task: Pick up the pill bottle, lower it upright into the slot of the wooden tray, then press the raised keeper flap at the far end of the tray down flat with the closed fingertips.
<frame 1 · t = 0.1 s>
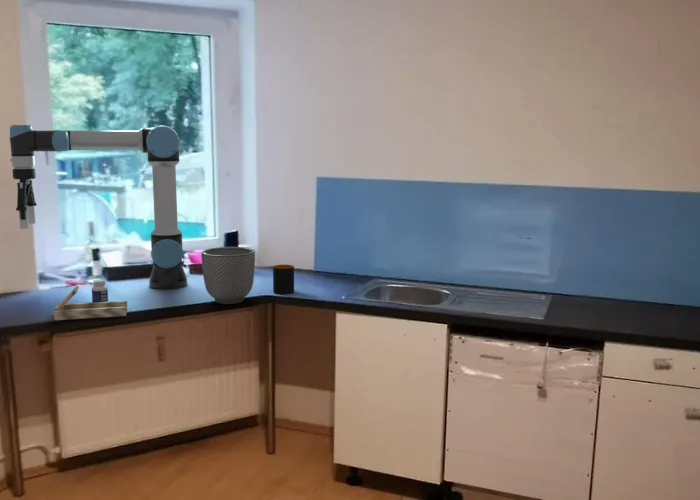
hand: (28, 226, 254), 28 cm above the countertop, fingers open, 13 cm apart
keeper flap: (69, 296, 236), point 7 cm above the countertop, hinge at 45.0°
wooden tray: (92, 314, 239), on the countertop
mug: (282, 291, 275), on the countertop
pill bottle: (100, 307, 249), on the countertop
planter: (229, 301, 259), on the countertop
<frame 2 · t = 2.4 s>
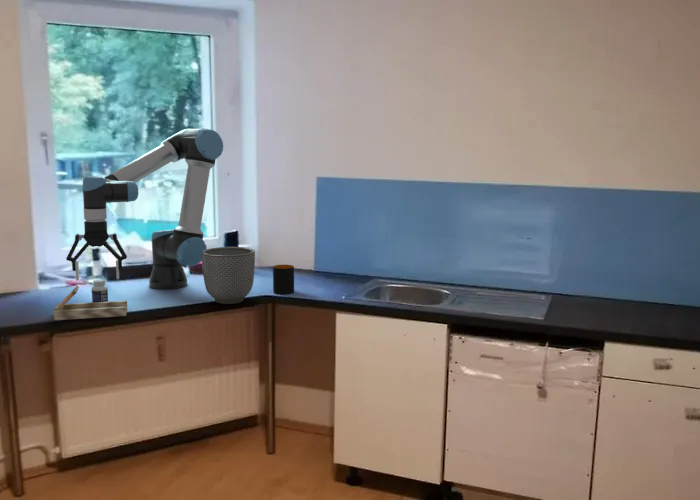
hand: (97, 279, 247), 10 cm above the countertop, fingers open, 13 cm apart
nothing on the countertop moved.
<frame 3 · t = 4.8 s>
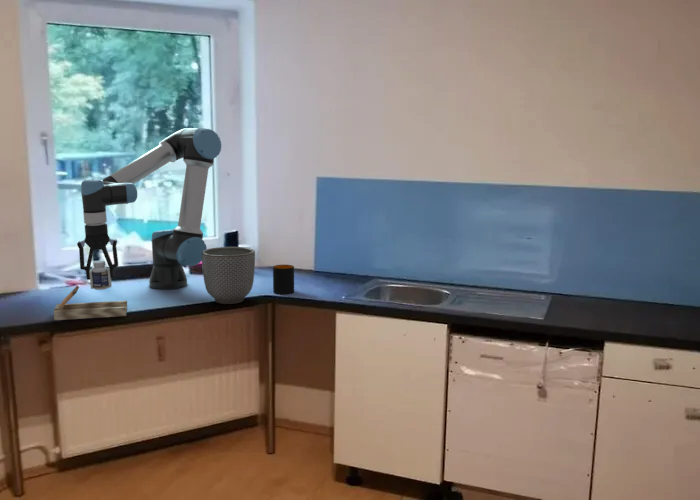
hand: (101, 287, 249), 7 cm above the countertop, fingers closed on pill bottle, 5 cm apart
pill bottle: (101, 288, 249), point 7 cm above the countertop, touching gripper
everything else where it was.
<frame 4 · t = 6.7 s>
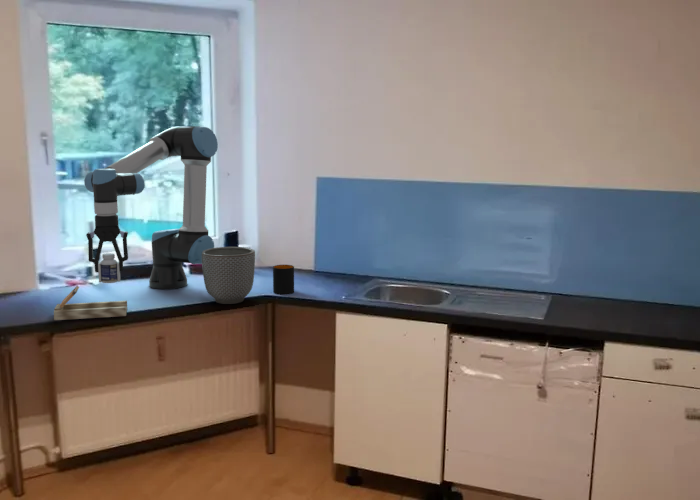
hand: (109, 280, 239), 12 cm above the countertop, fingers closed on pill bottle, 5 cm apart
pill bottle: (109, 282, 239), point 11 cm above the countertop, touching gripper
everything else where it was.
when the fingers open (1 cm above the countertop, at t = 8.7 s): pill bottle stays where it is, resting on wooden tray.
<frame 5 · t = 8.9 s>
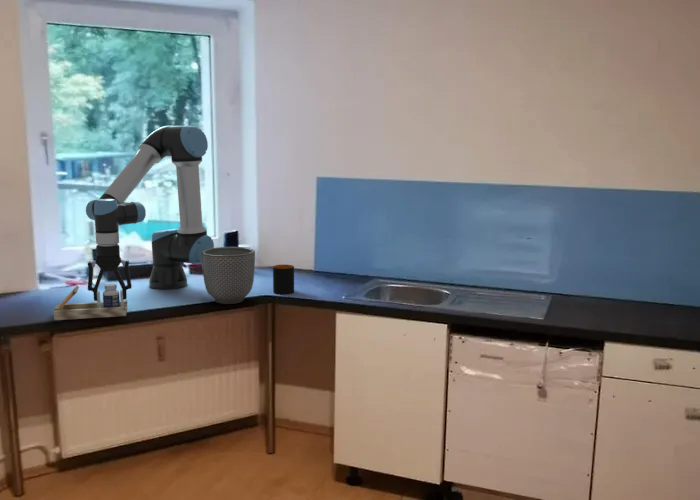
hand: (110, 309, 241), 1 cm above the countertop, fingers open, 7 cm apart
pill bottle: (111, 312, 241), resting on wooden tray
everything else where it was.
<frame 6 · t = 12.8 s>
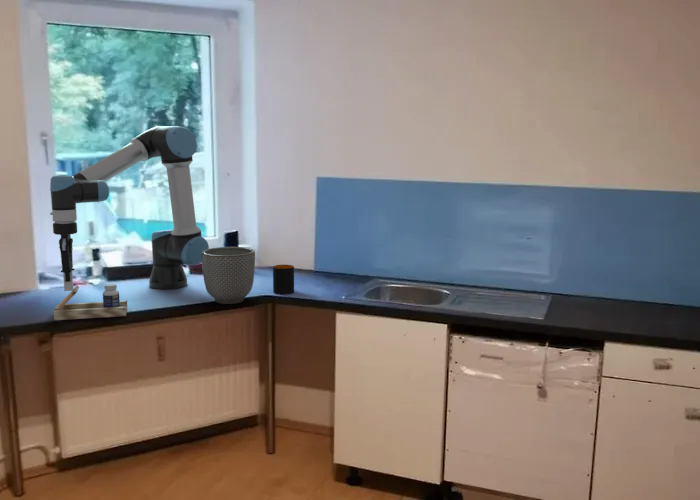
hand: (68, 290, 236), 9 cm above the countertop, fingers closed
keeper flap: (69, 296, 236), point 7 cm above the countertop, hinge at 45.0°, touching gripper
everything else where it was.
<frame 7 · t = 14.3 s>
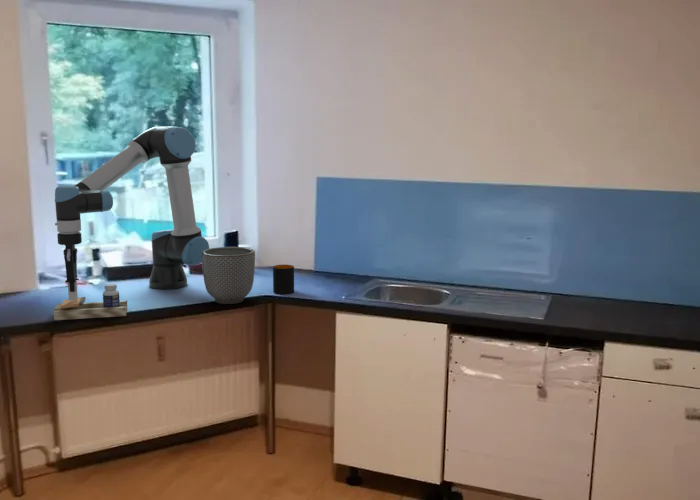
hand: (73, 300, 237), 5 cm above the countertop, fingers closed
keeper flap: (73, 302, 237), point 4 cm above the countertop, hinge at 6.1°
everything else where it was.
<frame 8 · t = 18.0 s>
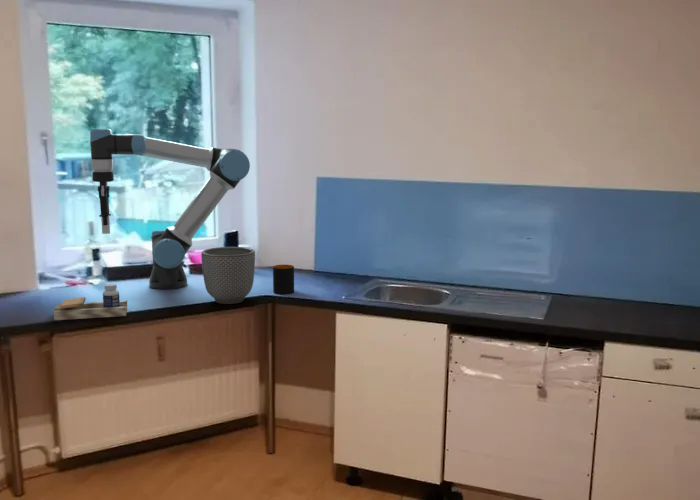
hand: (106, 233, 261), 24 cm above the countertop, fingers closed
nothing on the countertop moved.
at the end: pill bottle inside the target area (0.6 cm from its centre), resting on wooden tray; pill bottle tilted 0°; keeper flap at +6° (first picture: +45°) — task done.
